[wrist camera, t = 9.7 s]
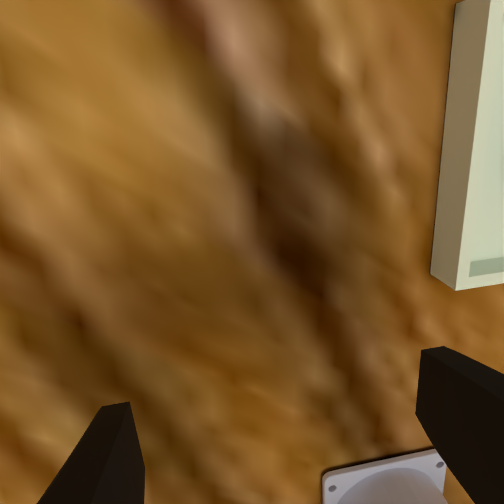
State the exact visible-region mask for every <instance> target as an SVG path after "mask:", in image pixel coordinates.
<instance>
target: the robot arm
mask: <svg viewBox="0 0 504 504" xmlns="http://www.w3.org/2000/svg"><path fill="white" fill-rule="evenodd" d="M415 414H416V416H417V418H418V420H419V421H420V423H421V425H422V427H423V429H424V430H425V432H426V434H427V436H428V437H429V439H430V441H431V443H432V444H433V446H434V448H435V449H431V450H427V451H422V452H417V453H413V454H408V455H403V456H399V457H394V458H389V459H385V460H380V461H375V462H371V463H366V464H361V465H357V466H352V467H347V468H343V469H338V470H333V471H329V472H327V473H325V474H324V476H323V478H322V489H323V504H448V502H447V501H446V499H445V498H444V496H443V488H444V480H445V473H446V466H448V468H449V469H450V471H451V472H452V473H453V475H454V476H455V477H456V479H457V480H458V481H459V483H460V484H461V486H462V487H463V488H464V490H465V491H466V492H467V494H468V495H469V496H470V498H471V499H472V500H473V502H474V503H475V504H504V374H502V373H500V372H498V371H496V370H494V369H492V368H490V367H488V366H486V365H484V364H482V363H480V362H478V361H476V360H474V359H471V358H469V357H467V356H465V355H463V354H461V353H459V352H456V351H454V350H452V349H449V348H447V347H445V346H441V347H435V348H430V349H424V350H421V359H420V369H419V380H418V391H417V402H416V412H415ZM144 489H145V466H144V462H143V457H142V453H141V449H140V444H139V440H138V436H137V432H136V427H135V423H134V419H133V414H132V410H131V406H130V402H125V403H119V404H113V405H108V406H102V407H101V408H100V410H99V411H98V412H97V414H96V415H95V417H94V419H93V420H92V422H91V423H90V425H89V427H88V428H87V430H86V431H85V433H84V435H83V436H82V438H81V439H80V441H79V442H78V444H77V445H76V447H75V448H74V450H73V452H72V453H71V455H70V456H69V458H68V459H67V461H66V462H65V464H64V465H63V467H62V468H61V469H60V471H59V472H58V474H57V475H56V477H55V478H54V480H53V481H52V483H51V484H50V486H49V487H48V488H47V490H46V491H45V493H44V494H43V496H42V497H41V498H40V500H39V501H38V503H37V504H144Z"/></svg>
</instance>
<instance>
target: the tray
mask: <svg viewBox="0 0 504 504" xmlns="http://www.w3.org/2000/svg"><path fill="white" fill-rule="evenodd" d="M430 274H431V275H433V276H434V277H436V278H437V279H439V280H440V281H442V282H443V283H445V284H446V285H448V286H449V287H451V288H452V289H454V290H455V291H456V290H463V289H469V288H475V287H482V286H488V285H494V284H501V283H504V0H465V1H462V2H459V3H456V8H455V18H454V29H453V39H452V50H451V60H450V71H449V81H448V92H447V102H446V113H445V123H444V134H443V144H442V155H441V166H440V176H439V187H438V197H437V208H436V218H435V229H434V239H433V250H432V260H431V271H430Z"/></svg>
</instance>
